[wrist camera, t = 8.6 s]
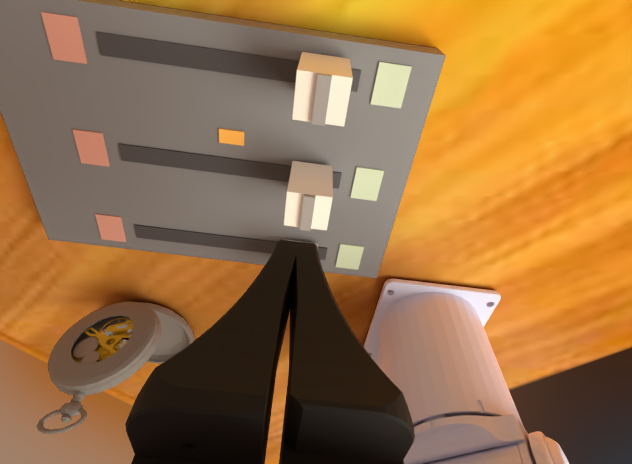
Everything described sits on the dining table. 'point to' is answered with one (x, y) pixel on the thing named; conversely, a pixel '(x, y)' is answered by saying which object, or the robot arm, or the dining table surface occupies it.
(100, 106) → the panel
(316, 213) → the handle
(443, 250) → the dining table surface
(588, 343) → the dining table surface
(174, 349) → the pocket watch
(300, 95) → the handle
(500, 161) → the dining table surface
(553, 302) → the dining table surface
